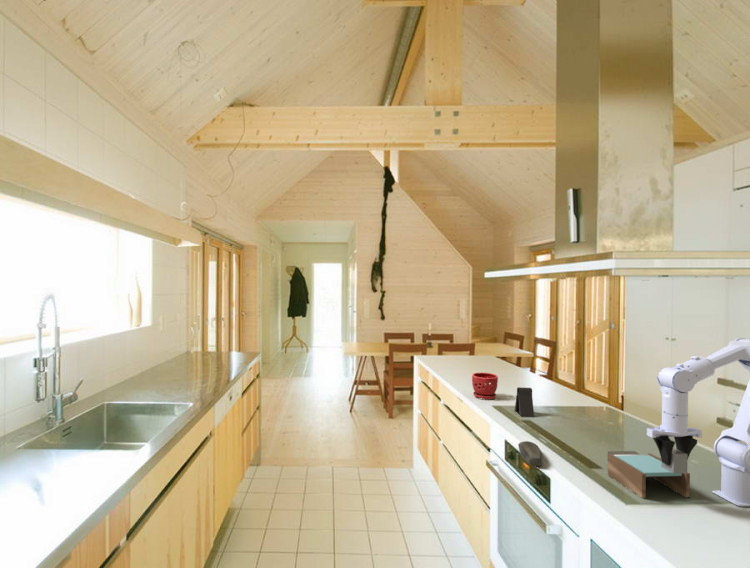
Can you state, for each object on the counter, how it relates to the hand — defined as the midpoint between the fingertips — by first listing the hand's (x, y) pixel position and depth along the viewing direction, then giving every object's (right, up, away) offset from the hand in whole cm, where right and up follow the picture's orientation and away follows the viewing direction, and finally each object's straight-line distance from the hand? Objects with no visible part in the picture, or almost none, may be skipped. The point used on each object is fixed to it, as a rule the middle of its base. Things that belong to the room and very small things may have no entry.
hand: (673, 463), depth 111 cm
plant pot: (-23, -12, +105) cm, 108 cm away
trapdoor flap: (-2, -7, +10) cm, 13 cm away
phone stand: (-12, -11, +77) cm, 79 cm away
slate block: (0, -2, 0) cm, 2 cm away
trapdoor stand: (-2, -10, +8) cm, 13 cm away
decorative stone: (-28, -10, +27) cm, 40 cm away
